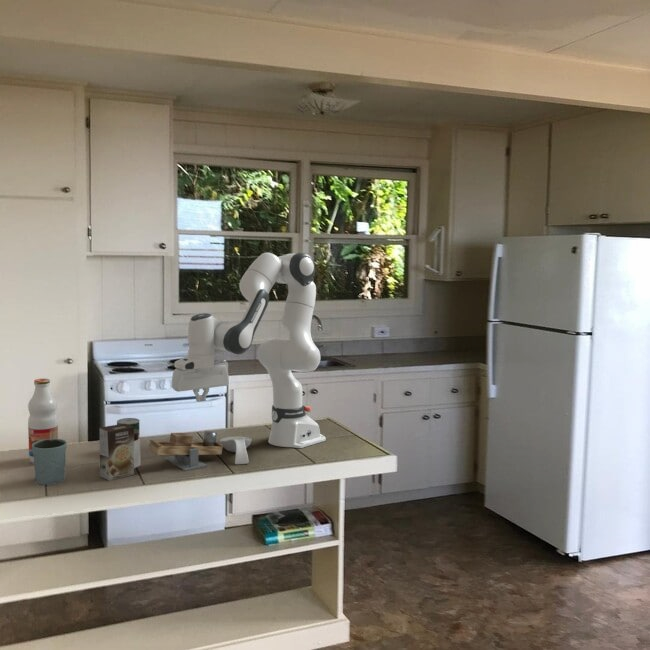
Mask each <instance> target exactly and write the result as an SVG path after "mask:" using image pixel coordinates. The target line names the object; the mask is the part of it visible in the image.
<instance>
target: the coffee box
mask: <svg viewBox="0 0 650 650" xmlns="http://www.w3.org/2000/svg"><path fill="white" fill-rule="evenodd" d="M133 475H135V468H134V427H133V426H131V425H128V424H118V425H117V424H113V425H112V424H111V425H107V426H101V427H99V476H100V477H101V478H103V479H105V480H107V481H113V480H117V479H121V478H126V477H129V476H133Z"/></svg>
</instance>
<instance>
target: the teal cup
mask: <svg viewBox="0 0 650 650" xmlns="http://www.w3.org/2000/svg"><path fill="white" fill-rule="evenodd" d="M32 450H33V457H34V463H33V465H34V476H35V482H36V483H37V484H39V485H46V486H47V485H55V484H59V483H61V482H64V480H65V479H66V460H67V459H66V457H67V456H66V455H67V454H66V453H67V441H66V440H64V439H61V438H58V439H44V440H40V441H37V442H35V443H33V444H32Z"/></svg>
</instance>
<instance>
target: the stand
mask: <svg viewBox="0 0 650 650" xmlns="http://www.w3.org/2000/svg"><path fill="white" fill-rule="evenodd" d="M166 461H168V462H170V463H171V464H173V465H174V466H176V467H178V468H179V469H181V470H182V471H184V472H187V471H191V470H192V471H193V470H196V469H202V468H206V467H207V464H205V463H204V462H202V461H201V460H199V455H198V449H197V448H195V449H190V450H189V455H174V456H171V457H166Z"/></svg>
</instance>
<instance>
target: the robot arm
mask: <svg viewBox="0 0 650 650" xmlns="http://www.w3.org/2000/svg"><path fill="white" fill-rule="evenodd" d="M315 273H316V264H315V261H314V259H313V257H312V256H311V255H310V254H307V253H303V252H297V253H287V254H283V255H280V256H277V255H275V254H274V253H271V252H263V253H261V254H260V255H259V256H258V257H257V258H256V259H255V260H254V261H253V262H252V263H251V264H250V265H249V267H248V268H247V270H246V271H245V273H244V274H243V275H242V277H241V279H240V281H239V291H240V293H241V295H242V296H243V297H244V298H245V300H246V301H248V302H249V304H248V307H247V308H246V309H245V312H244V314H243V316H242V318H241V320H240V321H239V322H237V323H229V322H224V321H222V320H219V319H217V318H215V317H214V316H213V315H212V314H211V313H205V312H204V313H199V314H195V315H193V316H192V317H190V320H189V322H188V329H187V331H188V332H187V341H188V351H187V355H186V356H184V357H182V358H180V359H178V360H176V361H174V365H173V366H174V368H175V369H174V370H173V372H172V378H171V388H172V389H173V391H176V392H179V393H180V392H186V391H192V392H193V394H194V396H195V401H196V402H198V403H199V402H206V401H207V395H208V394H209V392H210V389H211V388H218V387H225V386H228V385H229V383H230V377H229V375H230V374H229V362H228V361H227V360H225V359H223V358H222V359H215V349H216V350H217V349H218V350H221V351H224V352H229V353H232V354H235V355H242V354H244V353H246V352H248V350H249V349H250V347H251V345H252V343H253V339H254V336H255V333H256V331H257V328H258V326H259V324H260V322H261V320H262V319H263V316H264V314H265V312H266V309H267V308H268V305H269V302H270V295H269V294H270V292H271V290H272V288H273V286H274V285H275V284H279V285H284V284H287V289H288V293H287V297H286V300H285V304H284V307H283V308H284V309H283V315H282V318H281V324H282V326H283V327H284V329H285V330H286V331H288V332H289V340H286V339H276V338H275V339H268V340H267V339H266V340H264V341H262V342H261V343H260V345H259V347H258V349H257V359H258V362H259V363H260V364H261V365H262V366H263V367H264V369H266V372H267V373H268V374H269V378H270V381H271V385H272V398H273V399H272V400H273V401H272V406H271V421H272V422H271V428H270V434H269V437H268V440H267V442H268V443H269V444H270V445H272V446H275V447H282V448H295V449H303V448H306V447H308V446H309V447H310V446H311V445H312V446H313V445H316V444H319V443H323V442H326V436H325V435H323V434H321V431H320V430H321V429H320V425H319V423H317V422H316V421H315V420H313V418H311V417H310V416H309V415H308V414H307V413H311V411H312V407H311V406H308V405H306V406H305V405H303V386H302V384H301V382H300V381H299V380H298V379H296V377H295V376H294V375H293V373H292V371H293V372H299V373H305V372H308V373H309V372H314V371H316V369H317V368H318V366H320V363H321V359H322V358H321V351H320V350H319V348H318V346H316V344H315V342H314V341H313V339H312V335H311V334H312V333H311V332H312V331H311V330H312V329H311V327H312V321H313V315H314V310H315V305H316V299H317V298H316V297H317V286H316V284H315V282H314V281H313V280H314V278H315ZM200 390H203V392H202V394H201V395H200ZM306 412H307V413H306Z"/></svg>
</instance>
